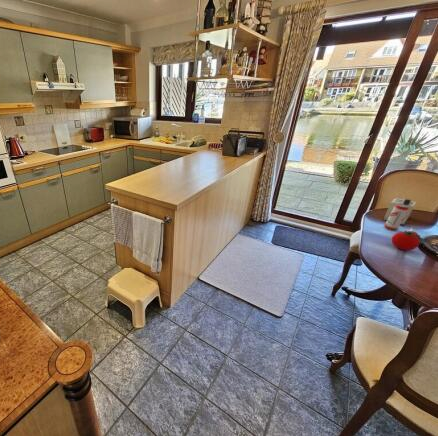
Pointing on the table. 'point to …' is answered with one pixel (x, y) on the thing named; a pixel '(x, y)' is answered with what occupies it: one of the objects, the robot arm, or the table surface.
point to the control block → (420, 239)
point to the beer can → (396, 217)
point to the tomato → (405, 240)
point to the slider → (407, 201)
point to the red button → (413, 232)
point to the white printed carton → (394, 203)
